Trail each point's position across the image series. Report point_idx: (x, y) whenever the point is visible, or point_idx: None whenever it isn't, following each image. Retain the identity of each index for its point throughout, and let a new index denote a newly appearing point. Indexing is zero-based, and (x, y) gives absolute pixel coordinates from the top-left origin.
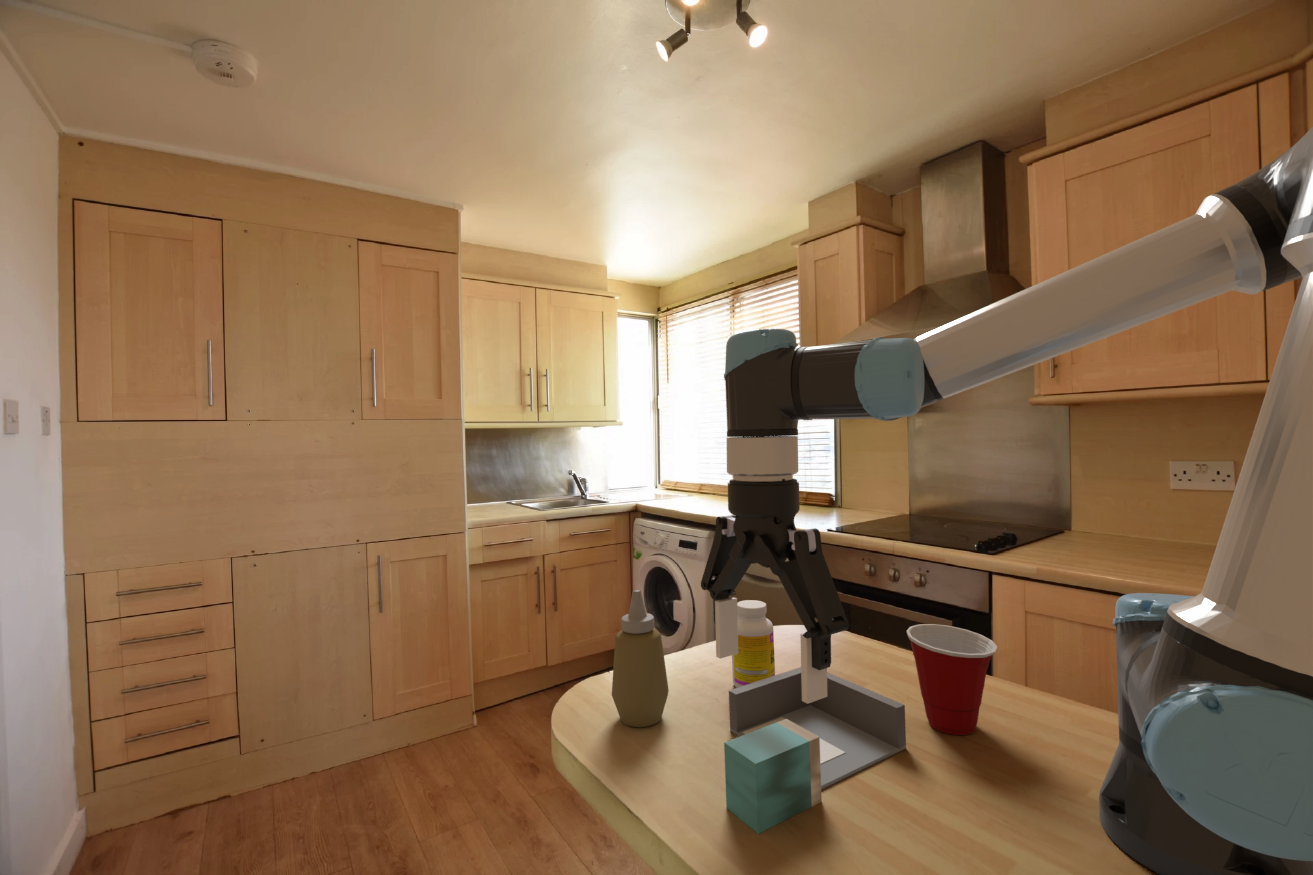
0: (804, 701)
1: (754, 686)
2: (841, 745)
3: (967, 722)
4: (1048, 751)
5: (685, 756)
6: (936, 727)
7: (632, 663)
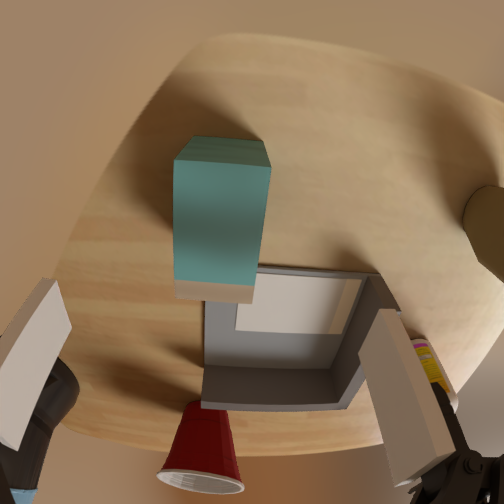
0: (50, 280)
1: None
2: (249, 337)
3: (183, 415)
4: (138, 411)
5: (390, 187)
6: None
7: None
